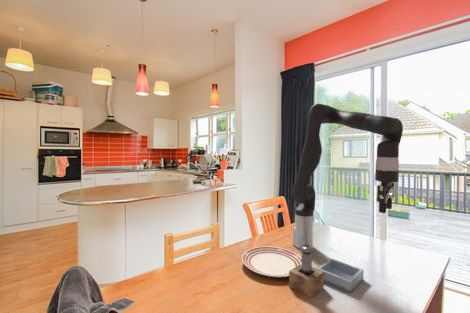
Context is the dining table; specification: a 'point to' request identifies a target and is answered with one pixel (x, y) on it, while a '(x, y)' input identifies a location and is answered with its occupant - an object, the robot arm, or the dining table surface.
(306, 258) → the pin
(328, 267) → the tray
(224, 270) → the dining table surface
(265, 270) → the dinner plate
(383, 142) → the robot arm
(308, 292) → the block
